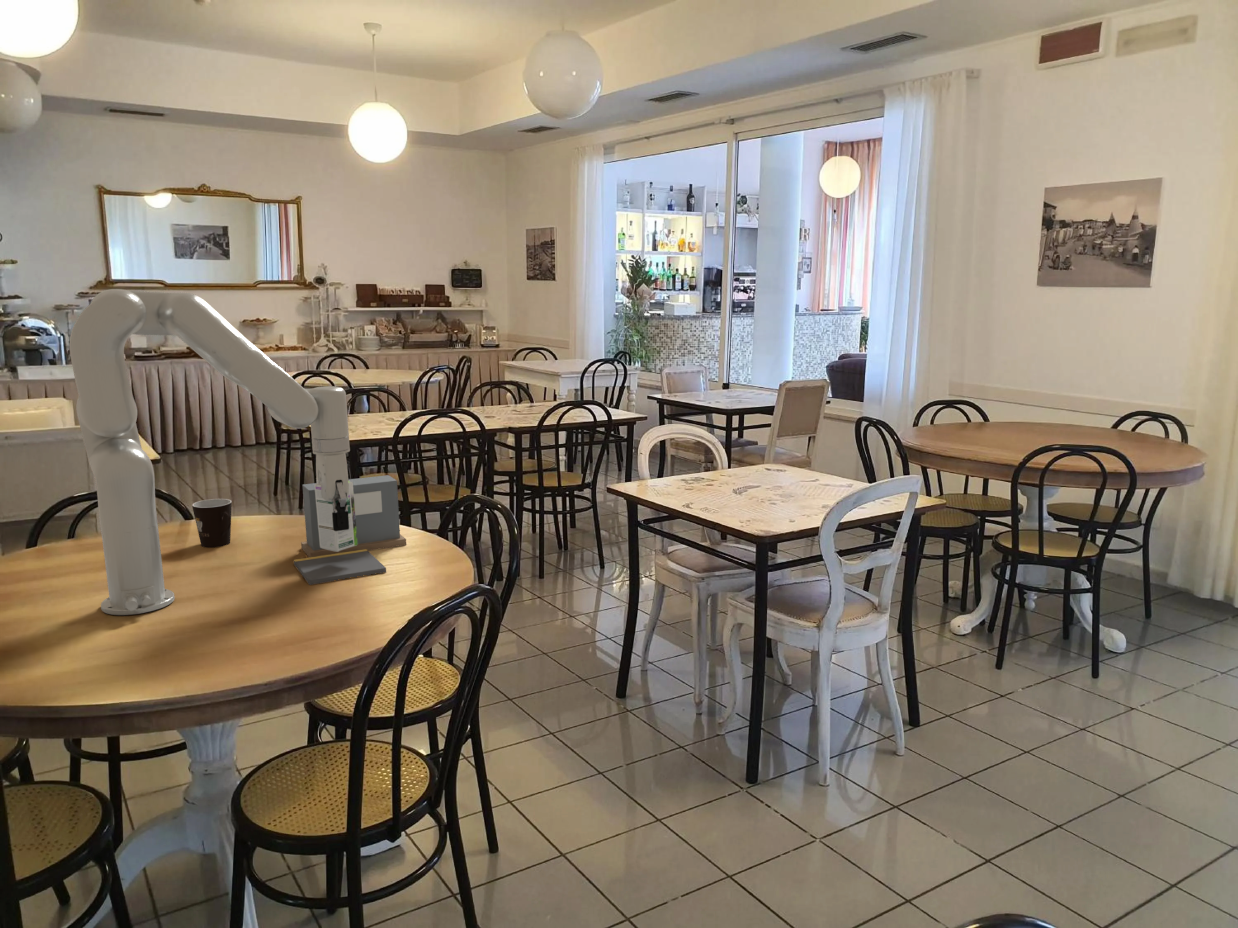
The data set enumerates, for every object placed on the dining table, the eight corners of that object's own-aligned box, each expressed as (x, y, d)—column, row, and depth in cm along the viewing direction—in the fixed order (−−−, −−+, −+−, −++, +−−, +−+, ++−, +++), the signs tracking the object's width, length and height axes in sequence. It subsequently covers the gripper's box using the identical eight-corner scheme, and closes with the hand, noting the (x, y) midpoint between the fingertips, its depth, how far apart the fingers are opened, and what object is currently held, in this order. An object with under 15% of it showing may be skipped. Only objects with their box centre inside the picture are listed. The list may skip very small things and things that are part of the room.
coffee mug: (195, 541, 218) (191, 501, 216) (234, 537, 221) (231, 497, 219) (196, 554, 207) (191, 512, 205) (236, 549, 211) (232, 508, 209)
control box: (406, 544, 214) (403, 481, 211) (310, 559, 203) (305, 492, 200) (394, 534, 222) (390, 473, 219) (301, 548, 212) (296, 483, 208)
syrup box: (337, 552, 192) (333, 486, 189) (318, 548, 195) (313, 482, 192) (358, 545, 197) (354, 480, 194) (339, 541, 200) (335, 477, 197)
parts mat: (386, 572, 194) (386, 567, 194) (309, 584, 186) (309, 579, 186) (366, 553, 207) (366, 548, 207) (293, 564, 199) (293, 559, 199)
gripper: (304, 440, 197) (310, 519, 200) (322, 453, 182) (328, 537, 185) (339, 437, 200) (344, 514, 204) (359, 449, 186) (364, 532, 189)
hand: (336, 525), depth 195 cm, fingers closed on syrup box, 7 cm apart
